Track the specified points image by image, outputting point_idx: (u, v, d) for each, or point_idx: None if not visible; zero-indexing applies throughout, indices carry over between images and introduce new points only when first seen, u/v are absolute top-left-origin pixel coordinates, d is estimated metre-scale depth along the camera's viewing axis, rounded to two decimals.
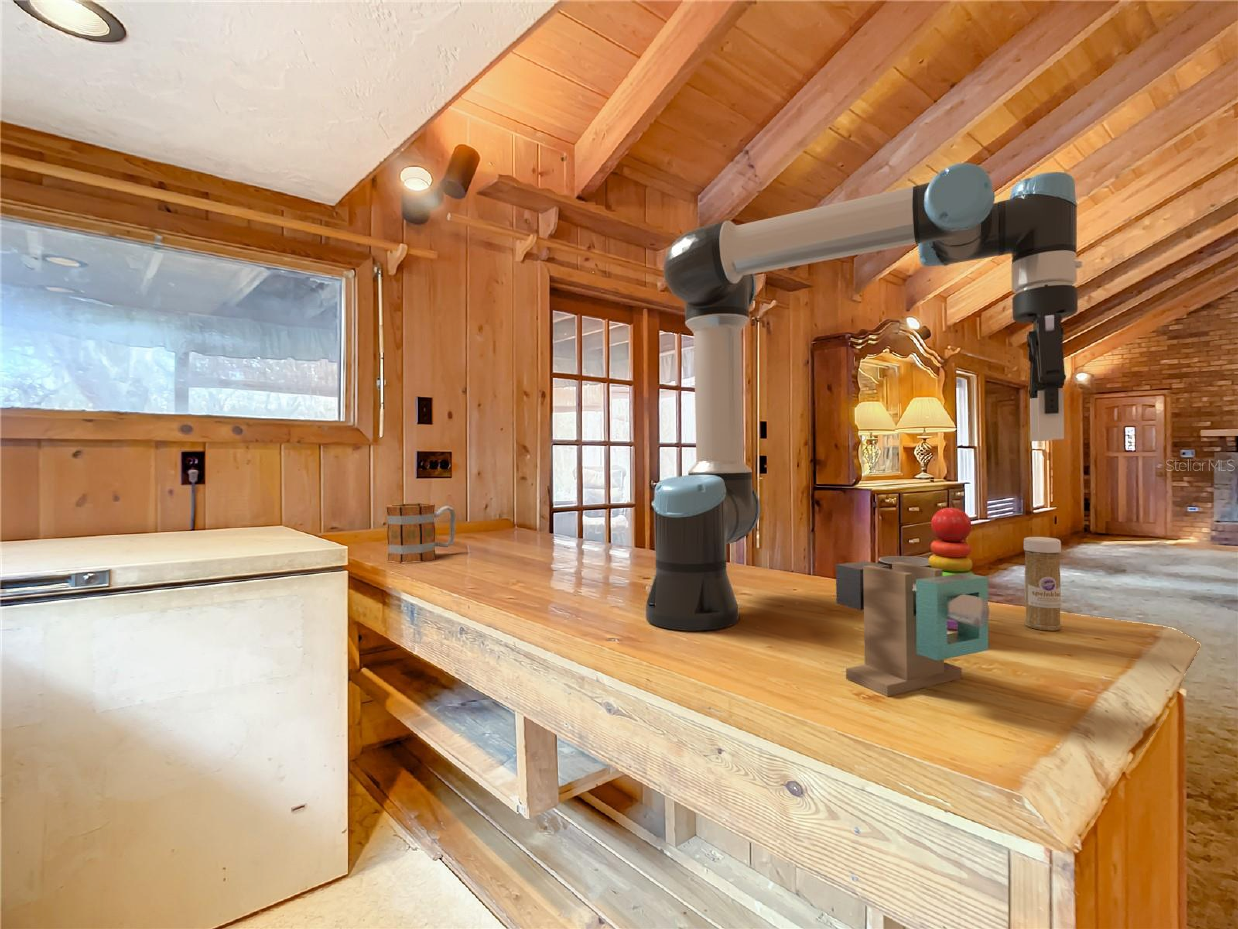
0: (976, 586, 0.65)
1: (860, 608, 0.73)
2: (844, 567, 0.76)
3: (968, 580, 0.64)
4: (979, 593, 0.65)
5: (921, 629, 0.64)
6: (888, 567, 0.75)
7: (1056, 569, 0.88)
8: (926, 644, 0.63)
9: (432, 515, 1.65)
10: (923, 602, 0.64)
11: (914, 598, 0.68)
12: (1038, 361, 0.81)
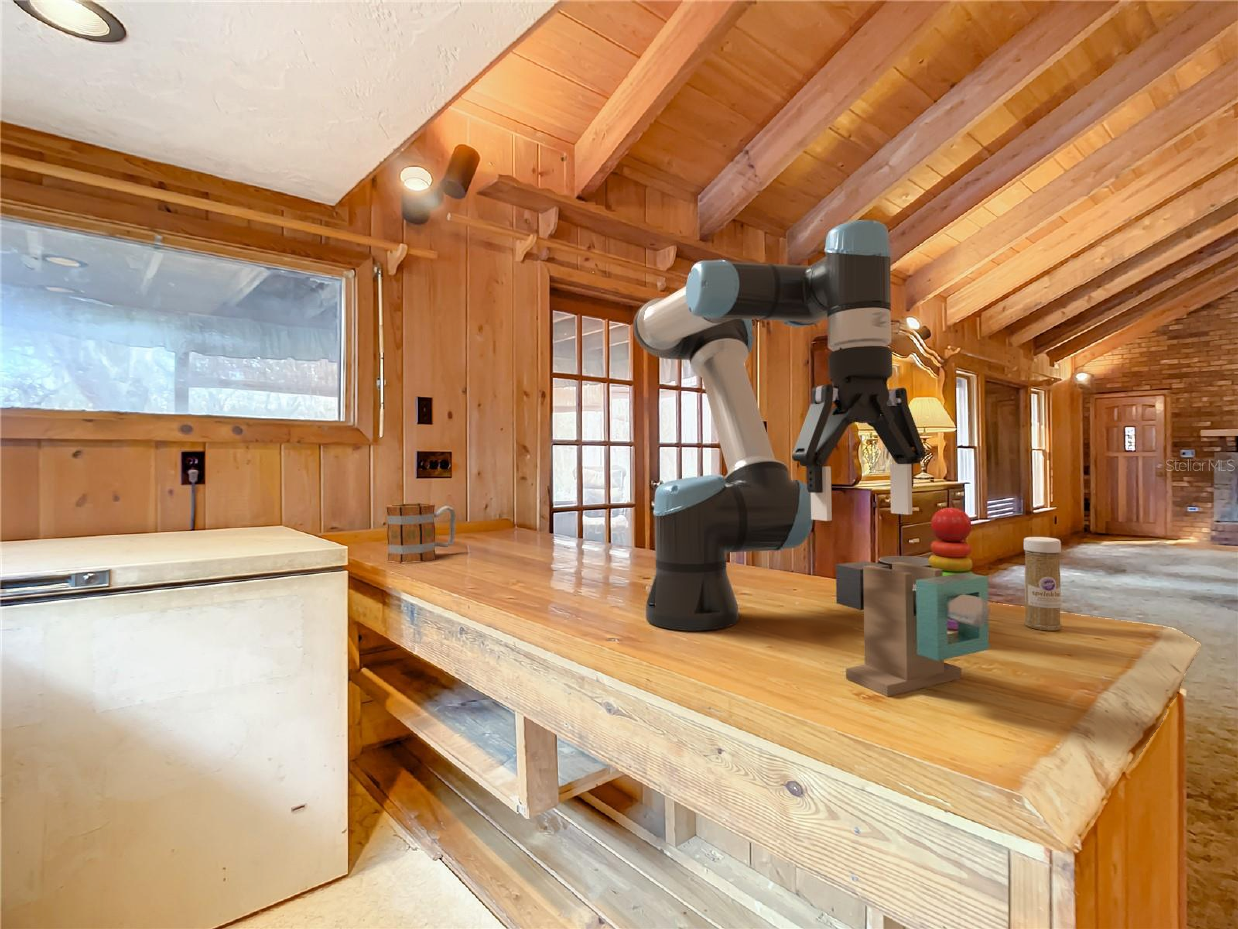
0: (976, 586, 0.65)
1: (860, 608, 0.73)
2: (844, 567, 0.76)
3: (968, 580, 0.64)
4: (979, 593, 0.65)
5: (921, 630, 0.64)
6: (888, 567, 0.75)
7: (1056, 569, 0.88)
8: (926, 644, 0.63)
9: (432, 515, 1.65)
10: (923, 602, 0.64)
11: (914, 598, 0.68)
12: None
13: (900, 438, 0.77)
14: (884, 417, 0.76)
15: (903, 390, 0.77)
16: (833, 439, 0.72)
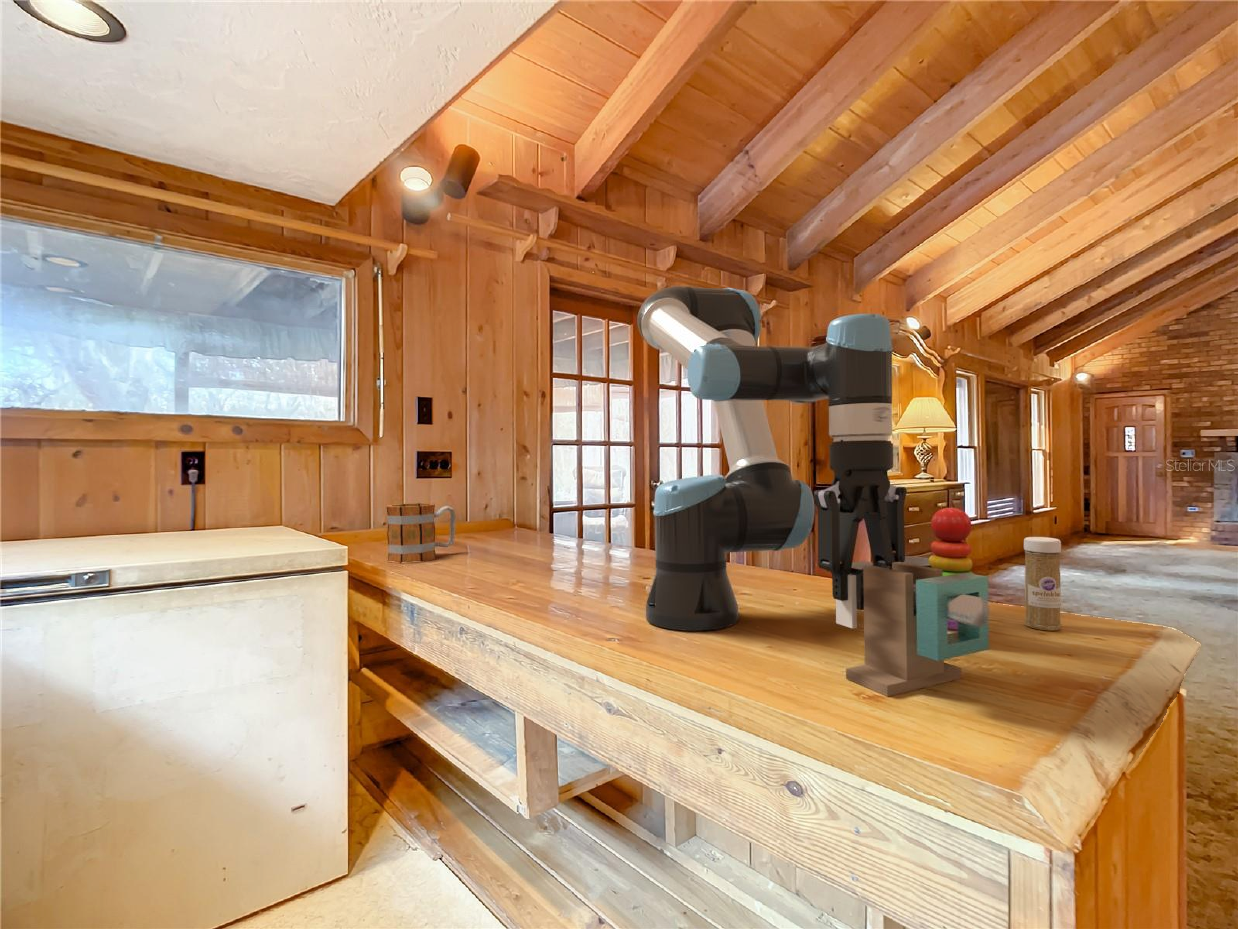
0: (976, 586, 0.65)
1: (860, 608, 0.73)
2: None
3: (968, 580, 0.64)
4: (979, 593, 0.65)
5: (921, 630, 0.64)
6: (888, 567, 0.75)
7: (1056, 569, 0.88)
8: (926, 644, 0.63)
9: (432, 515, 1.65)
10: (923, 602, 0.64)
11: (914, 598, 0.68)
12: None
13: (886, 539, 0.76)
14: (878, 510, 0.75)
15: (904, 490, 0.77)
16: (850, 544, 0.74)
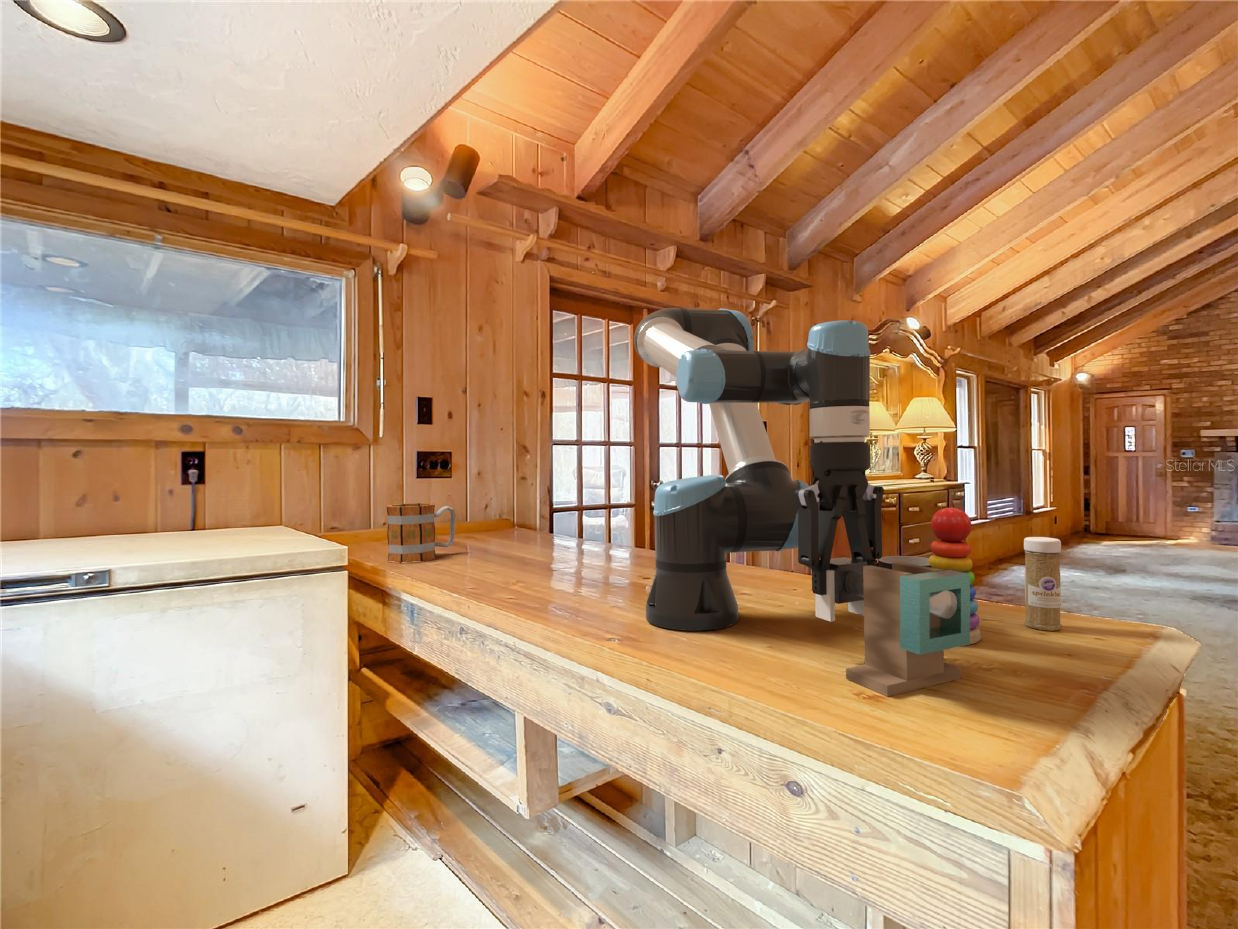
0: (958, 582, 0.67)
1: (838, 602, 0.77)
2: None
3: (950, 576, 0.66)
4: (961, 589, 0.67)
5: (904, 624, 0.66)
6: (865, 563, 0.79)
7: (1056, 569, 0.88)
8: (909, 639, 0.65)
9: (432, 515, 1.65)
10: (906, 598, 0.65)
11: None
12: None
13: (864, 536, 0.80)
14: (856, 509, 0.79)
15: (881, 489, 0.81)
16: (829, 541, 0.77)
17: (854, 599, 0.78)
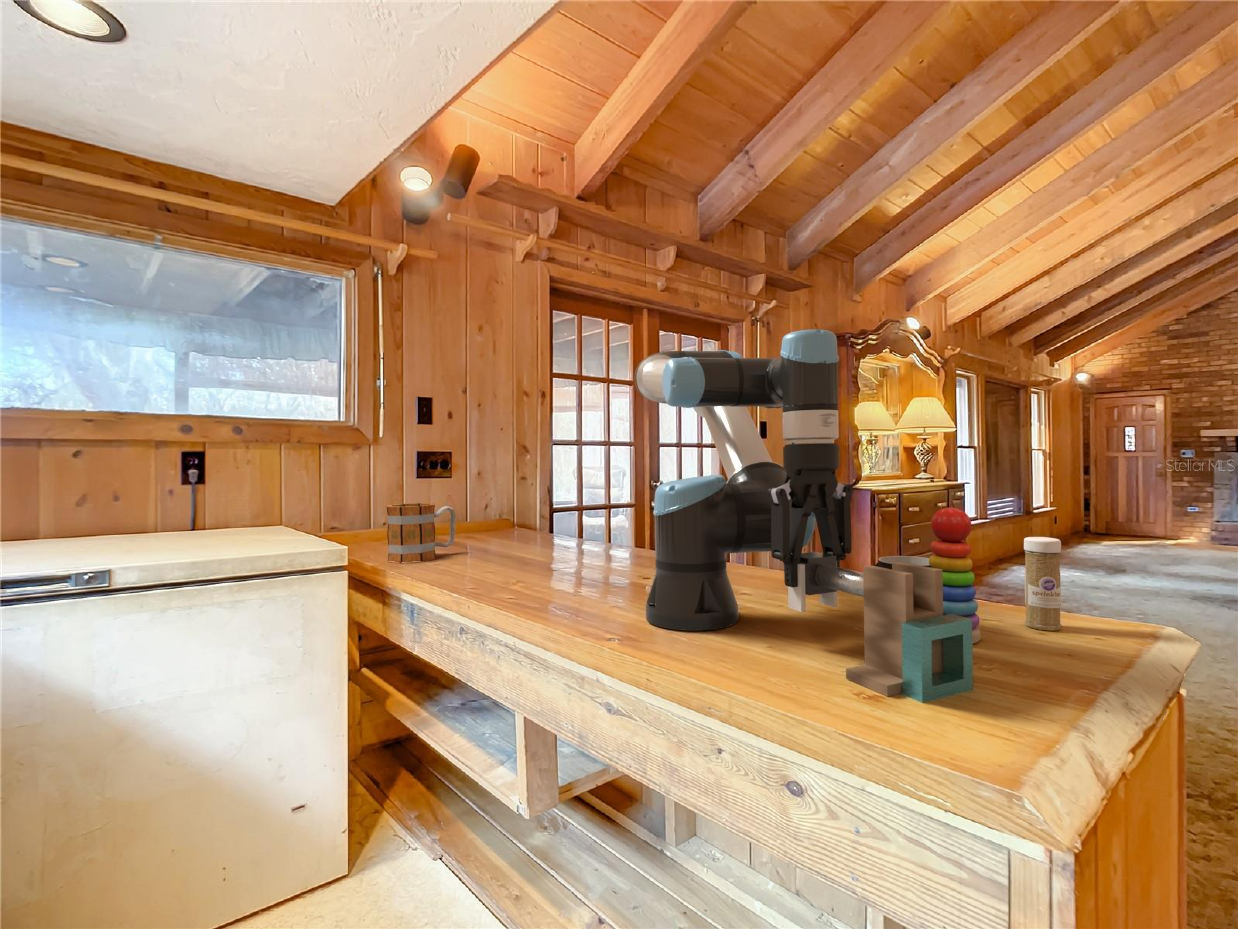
0: (960, 628, 0.66)
1: (808, 593, 0.82)
2: None
3: (952, 623, 0.66)
4: (963, 635, 0.67)
5: (906, 671, 0.66)
6: (835, 557, 0.84)
7: (1056, 569, 0.88)
8: (911, 686, 0.65)
9: (432, 515, 1.65)
10: (908, 645, 0.65)
11: (852, 584, 0.76)
12: None
13: (834, 532, 0.85)
14: (826, 506, 0.84)
15: (850, 488, 0.86)
16: (800, 536, 0.82)
17: (824, 591, 0.83)
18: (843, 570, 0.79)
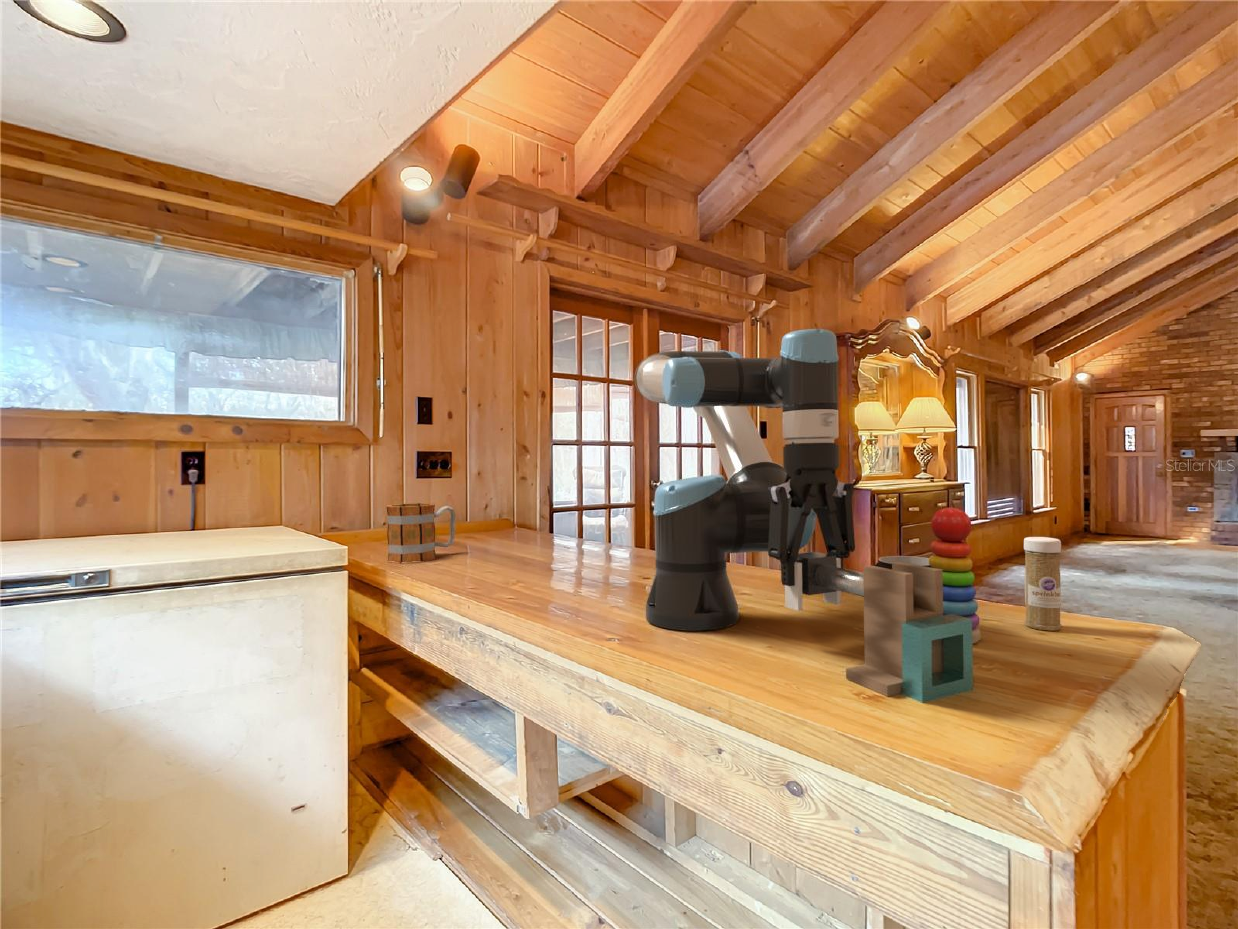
0: (960, 628, 0.66)
1: (808, 593, 0.82)
2: None
3: (952, 623, 0.66)
4: (963, 635, 0.67)
5: (906, 671, 0.66)
6: (835, 557, 0.84)
7: (1056, 569, 0.88)
8: (911, 686, 0.65)
9: (432, 515, 1.65)
10: (908, 645, 0.65)
11: (852, 584, 0.76)
12: None
13: (836, 530, 0.85)
14: (827, 506, 0.84)
15: (851, 486, 0.86)
16: (798, 535, 0.82)
17: (824, 591, 0.83)
18: (843, 570, 0.79)
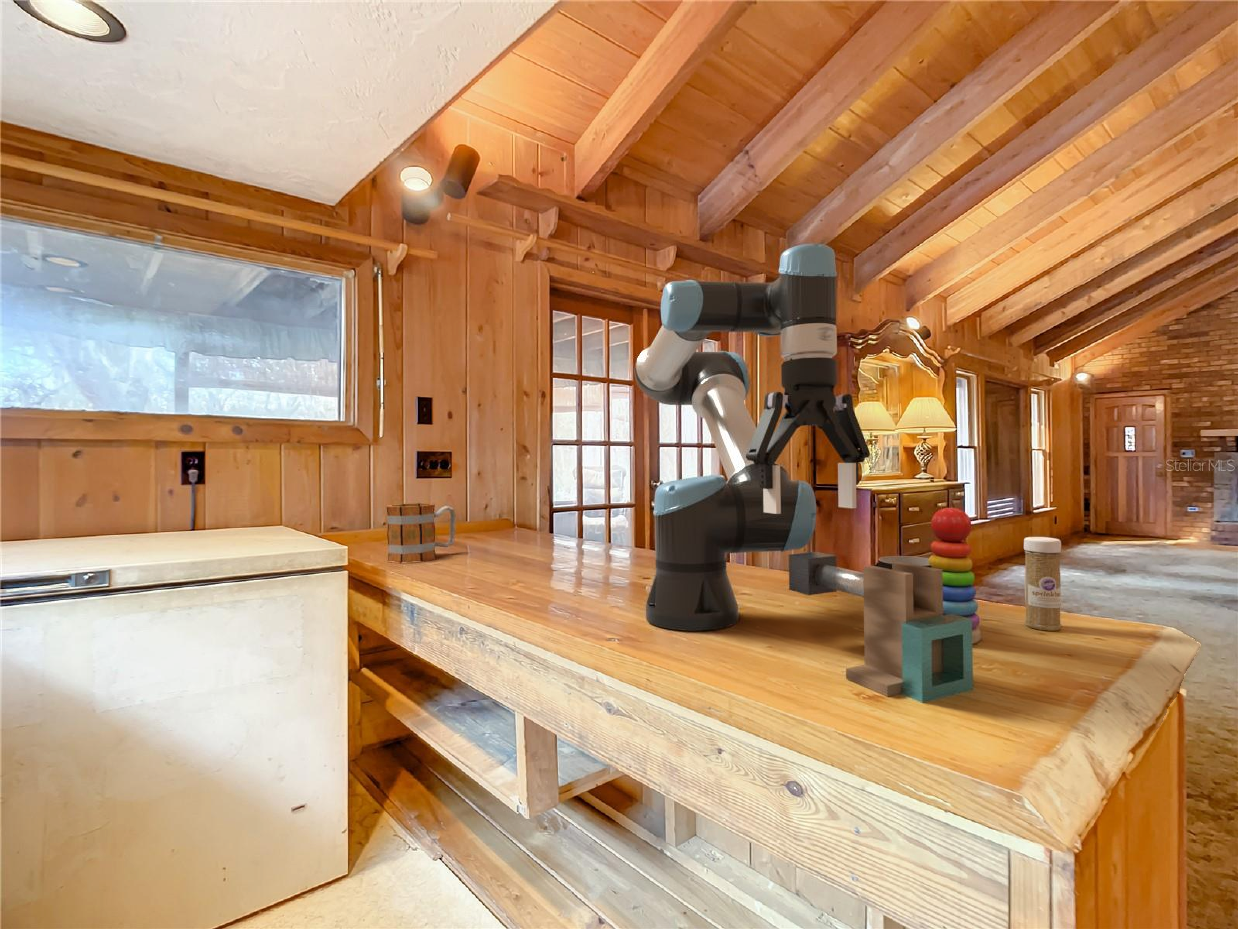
0: (960, 628, 0.66)
1: (808, 593, 0.82)
2: (795, 557, 0.84)
3: (952, 623, 0.66)
4: (963, 635, 0.67)
5: (906, 671, 0.66)
6: (835, 557, 0.84)
7: (1056, 569, 0.88)
8: (911, 686, 0.65)
9: (432, 515, 1.65)
10: (908, 645, 0.65)
11: (852, 584, 0.76)
12: (772, 436, 0.83)
13: (845, 439, 0.86)
14: (830, 421, 0.84)
15: (849, 396, 0.86)
16: (782, 441, 0.81)
17: (824, 591, 0.83)
18: (843, 570, 0.79)
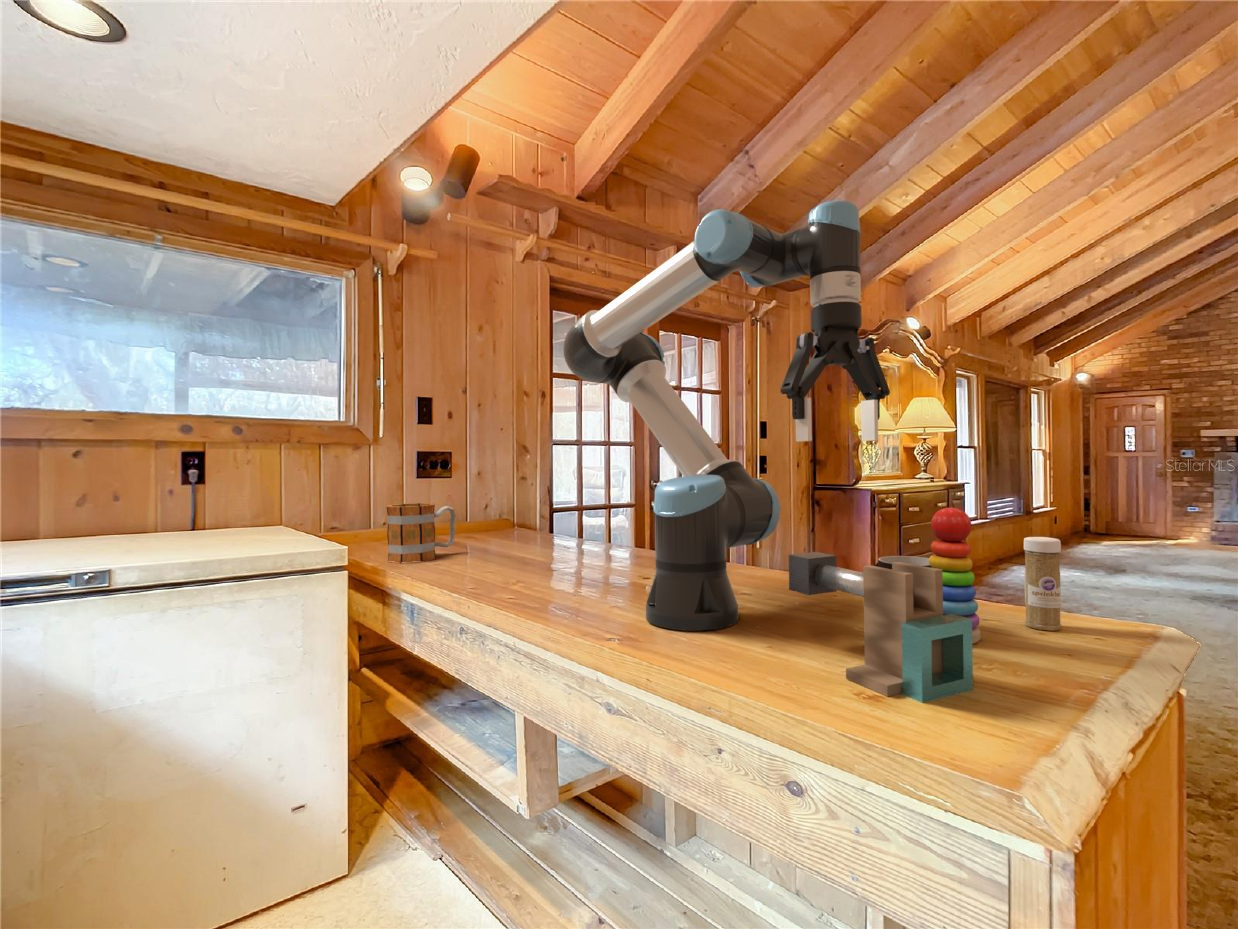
0: (960, 628, 0.66)
1: (808, 593, 0.82)
2: (795, 557, 0.84)
3: (952, 623, 0.66)
4: (963, 635, 0.67)
5: (906, 671, 0.66)
6: (835, 557, 0.84)
7: (1056, 569, 0.88)
8: (911, 686, 0.65)
9: (432, 515, 1.65)
10: (908, 645, 0.65)
11: (852, 584, 0.76)
12: None
13: (868, 378, 0.95)
14: (855, 360, 0.94)
15: (871, 339, 0.95)
16: (813, 376, 0.91)
17: (824, 591, 0.83)
18: (843, 570, 0.79)
